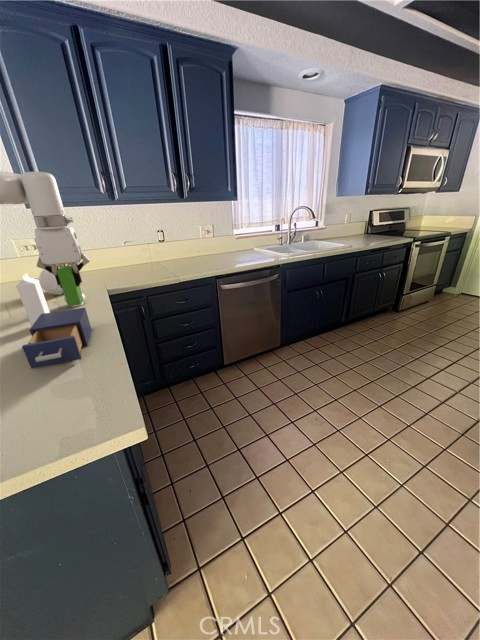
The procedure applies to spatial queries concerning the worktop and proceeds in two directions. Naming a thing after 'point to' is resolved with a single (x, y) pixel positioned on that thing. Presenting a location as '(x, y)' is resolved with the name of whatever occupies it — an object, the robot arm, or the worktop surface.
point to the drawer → (54, 346)
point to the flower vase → (82, 293)
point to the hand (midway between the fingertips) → (70, 285)
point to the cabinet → (65, 322)
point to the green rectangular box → (69, 286)
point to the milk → (32, 298)
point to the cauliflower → (49, 283)
